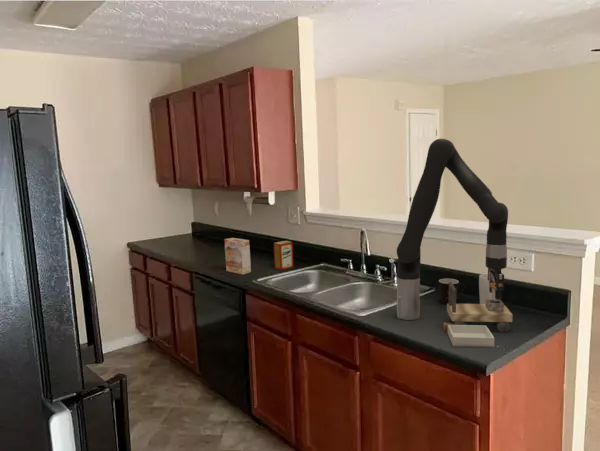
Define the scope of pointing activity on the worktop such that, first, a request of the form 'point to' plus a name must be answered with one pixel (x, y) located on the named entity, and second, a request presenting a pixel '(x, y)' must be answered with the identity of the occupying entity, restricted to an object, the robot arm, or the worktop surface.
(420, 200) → the robot arm
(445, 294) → the coffee mug
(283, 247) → the baking soda box
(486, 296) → the drinking glass
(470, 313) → the trolley
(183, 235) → the worktop surface
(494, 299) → the stop pin
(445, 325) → the wheel chock
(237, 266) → the coffeecake box
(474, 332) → the tray
